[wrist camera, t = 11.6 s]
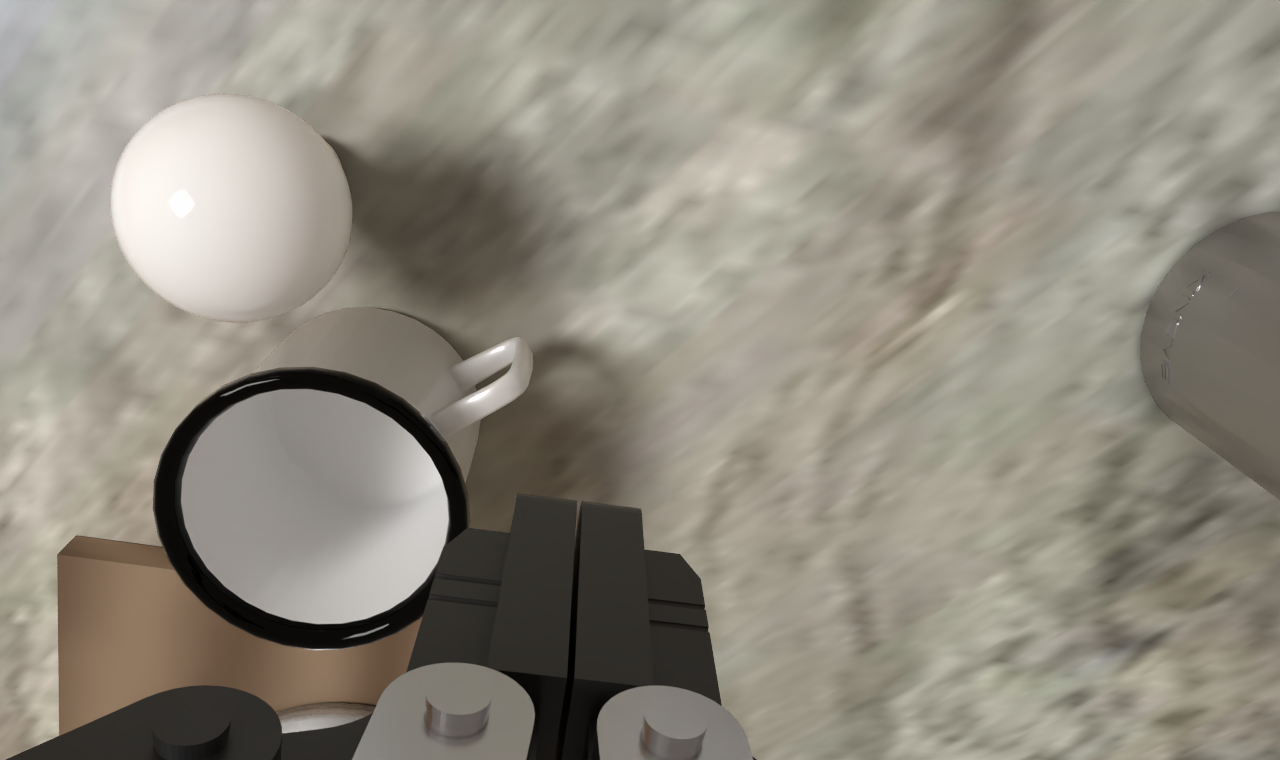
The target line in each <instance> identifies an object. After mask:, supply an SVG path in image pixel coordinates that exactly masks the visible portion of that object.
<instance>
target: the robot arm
mask: <svg viewBox="0 0 1280 760" xmlns="http://www.w3.org/2000/svg"><path fill="white" fill-rule="evenodd" d="M1140 360H1141V365H1142V369H1143V374H1144V379H1145V383H1146V385H1147V387H1148V389H1149V391H1150V393H1151V395H1152V397H1153V399H1154V401H1155V402H1156V403H1157V405H1158V406H1159V407H1160V408H1161V409H1162V410H1163V411H1164V413H1165V414H1166V415H1167V416H1168V417H1169V418H1170V419H1171V420H1173V421H1174V422H1176V423H1177V424H1178V425H1180V426H1181V427H1182V428H1184V429H1185V430H1186V431H1188V432H1189V433H1190V434H1192V435H1193V436H1194V437H1196V438H1197V439H1199V440H1200V441H1201V442H1203V443H1204V444H1205V445H1207V446H1208V447H1209V448H1211V449H1212V450H1213V451H1215V452H1216V453H1217V454H1219V455H1220V456H1221V457H1223V458H1224V459H1225V460H1227V461H1228V462H1229V463H1230V464H1231V465H1233V466H1234V467H1236V468H1237V469H1238V470H1240V471H1241V472H1242V473H1244V474H1245V475H1246V476H1248V477H1249V478H1251V479H1252V480H1253V481H1255V482H1256V483H1257V484H1259V485H1260V486H1261V487H1263V488H1264V489H1266V490H1267V491H1268V492H1270V493H1271V494H1272V495H1274V496H1275V497H1276V498H1278V499H1279V500H1280V212H1267V213H1263V214H1259V215H1255V216H1250V217H1246V218H1242V219H1240V220H1238V221H1236V222H1233V223H1231V224H1229V225H1227V226H1225V227H1222V228H1220V229H1218V230H1216V231H1215V232H1213V233H1212V234H1210V235H1209V236H1207V237H1206V238H1204V239H1203V240H1202V241H1200V242H1199V243H1197V244H1196V245H1194V246H1193V247H1192V248H1191V249H1190V250H1189V251H1188V252H1187V253H1186V254H1185V255H1184V256H1183V257H1182V258H1181V259H1180V260H1179V261H1178V262H1177V263H1176V264H1175V265H1174V266H1173V267H1172V269H1171V270H1170V272H1169V273H1168V274H1167V276H1166V277H1165V279H1164V280H1163V281H1162V283H1161V284H1160V286H1159V287H1158V289H1157V291H1156V293H1155V295H1154V297H1153V300H1152V302H1151V304H1150V306H1149V308H1148V310H1147V313H1146V317H1145V322H1144V326H1143V330H1142V334H1141V356H1140ZM576 509H577V501H574V500H566V499H559V498H551V497H543V496H535V495H527V494H519V493H518V494H517V499H516V505H515V510H514V516H513V521H512V527H511V533H504V532H496V531H488V530H480V529H472V528H467V529H466V530H464V531H463V532H462V533H461V534H459V535H458V536H457V537H456V538H454V539H453V540H452V541H451V542H449V543H448V544H447V545H446V546H445V547H443V550H442V553H441V557H440V560H439V563H438V567H437V570H436V574H435V578H434V580H433V584H432V587H431V590H430V594H429V600H427V604H426V607H425V611H424V614H423V617H422V621H421V624H420V627H419V631H418V634H417V637H416V641H415V644H414V648H413V651H412V654H411V658H410V661H409V664H408V668H407V671H406V673H405V674H403V675H401V676H400V677H398V678H397V679H395V680H394V681H393V682H391V683H390V685H389V686H388V687H387V688H386V689H385V690H384V692H383V693H382V695H381V697H380V699H379V701H378V703H377V705H376V707H375V710H374V712H373V713H371V714H369V715H368V716H366V717H364V718H361V719H358V720H356V721H353V722H350V723H347V724H343V725H339V726H335V727H329V728H323V729H316V730H307V731H299V732H290V733H282V726H281V722H280V719H279V717H278V715H277V714H276V712H275V711H274V709H273V708H272V707H271V706H270V705H269V704H267V703H266V702H265V701H263V700H262V699H260V698H259V697H257V696H255V695H253V694H250V693H248V692H246V691H242V690H239V689H235V688H230V687H223V686H210V685H200V686H187V687H181V688H175V689H171V690H167V691H163V692H160V693H157V694H154V695H151V696H149V697H146V698H144V699H141V700H139V701H137V702H135V703H132V704H130V705H128V706H126V707H123V708H121V709H119V710H117V711H114V712H112V713H110V714H108V715H105V716H103V717H101V718H99V719H96V720H94V721H92V722H90V723H87V724H85V725H83V726H81V727H78V728H76V729H74V730H72V731H69V732H67V733H65V734H63V735H60V736H58V737H56V738H53V739H51V740H49V741H47V742H44V743H42V744H40V745H38V746H35V747H33V748H31V749H29V750H26V751H24V752H22V753H20V754H17V755H15V756H13V757H11V758H8V759H6V760H756V759H755V758H754V757H753V756H752V753H751V750H750V747H749V743H748V740H747V737H746V735H745V732H744V730H743V728H742V727H741V725H740V724H739V722H738V721H737V720H736V719H735V717H734V716H733V715H732V714H731V713H730V712H728V711H727V710H726V709H725V708H723V707H722V705H721V699H720V693H719V687H718V681H717V675H716V669H715V663H714V657H713V651H712V645H711V639H710V633H709V632H708V621H707V615H706V610H704V608H705V603H704V597H703V591H702V585H701V579H700V578H699V576H698V575H697V574H696V573H695V572H694V571H693V569H692V568H691V567H690V566H689V565H688V563H687V562H686V561H685V560H684V559H683V557H682V556H681V555H680V554H675V553H667V552H659V551H651V550H644V539H643V526H642V512H641V509H639V508H631V507H623V506H615V505H607V504H599V503H591V502H584V501H582V502H581V506H580V511H579V517H578V523H577V530H576V536H575V527H576Z"/></svg>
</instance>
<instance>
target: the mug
mask: <svg viewBox="0 0 1280 760" xmlns="http://www.w3.org/2000/svg"><path fill="white" fill-rule="evenodd" d="M510 364H512V365H511V368H510V369H509V371H508V372H507V373H506V374H505V375H503V376H502V377H500V378H499V379H498V380H496V381H494V382H493V383H491V384H489V385H487V386H486V387H484V388H482V389H480V390H478V391H477V390H476V386H475V385H476V384H478V383H480V382H481V381H483V380H485V379H486V378H488V377H490V376H491V375H493V374H495V373H497V372H498V371H500V370H502V369H503V368H505V367H507V366H508V365H510ZM532 370H533V353H532V352H531V350H530V348H529V347H528V345H527V344H526V342H525V340H524V339H522V338H520V337H514V338H510V339H508V340H505V341H503V342H501V343H499V344H497V345H495V346H493V347H491V348H489V349H487V350H485V351H483V352H481V353H479V354H476V355H474V356H472V357H470V358H468V359H466V360H464V361H463V360H462V359H461V357H460V356H459V355H458V353H457V352H456V351H455V350H454V348H453V347H452V346H451V345H450V344H449V343H448V342H447V341H446V340H444V339H443V338H442V337H441V336H440V335H439V334H438V333H436V332H435V331H434V330H432V329H431V328H429V327H427V326H425V325H424V324H422V323H420V322H419V321H417V320H415V319H413V318H410V317H407V316H405V315H402V314H399V313H396V312H394V311H388V310H382V309H376V308H346V309H342V310H337V311H332V312H327V313H325V314H323V315H320V316H318V317H316V318H313V319H311V320H309V321H307V322H305V323H304V324H302V325H301V326H300V327H298V328H297V329H295V330H294V331H293V332H291V333H290V334H289V335H288V336H287V337H286V338H285V339H284V340H283V341H282V343H281V344H280V345H279V346H278V347H277V348H276V349H275V350H274V351H273V352H272V353H271V354H270V355H269V357H268V358H267V359H266V360H265V361H264V362H263V363H262V364H261V365H260V366H259V367H258V368H257V369H256V371H255V372H254V373H252V374H249V375H246V376H244V377H242V378H239V379H237V380H235V381H232V382H230V383H228V384H225V385H223V386H221V387H220V388H219V389H217V390H216V391H214V392H213V393H212V394H210V395H209V396H207V397H206V398H204V399H203V400H202V401H200V402H199V403H198V404H197V405H196V406H195V407H194V408H193V409H192V410H191V412H190V413H189V414H188V415H187V416H186V417H185V418H184V419H183V420H182V422H181V423H180V424H179V425H178V427H177V428H176V429H175V431H174V433H173V434H172V436H171V438H170V440H169V442H168V444H167V445H166V447H165V449H164V451H163V453H162V454H161V458H160V461H159V465H158V469H157V472H156V476H155V479H154V495H153V511H154V517H155V522H156V527H157V533H158V537H159V539H160V542H161V544H162V546H163V549H164V551H165V554H166V556H167V559H168V561H169V563H170V564H171V566H172V567H173V569H174V570H175V572H176V573H177V575H178V576H179V578H180V579H181V581H182V582H183V584H184V585H185V586H186V587H187V588H188V589H189V590H190V591H191V593H192V594H193V595H194V596H195V597H196V598H197V599H198V600H199V601H200V602H201V603H202V604H203V605H204V606H205V607H206V608H208V609H209V610H211V611H212V612H213V613H215V614H216V615H217V616H219V617H220V618H222V619H223V620H224V621H226V622H227V623H229V624H230V625H232V626H234V627H236V628H238V629H240V630H242V631H244V632H246V633H248V634H250V635H252V636H254V637H257V638H260V639H263V640H266V641H270V642H273V643H276V644H279V645H283V646H288V647H295V648H302V649H309V650H337V649H347V648H352V647H357V646H362V645H367V644H372V643H374V642H377V641H379V640H382V639H384V638H387V637H389V636H392V635H395V634H397V633H399V632H400V631H402V630H403V629H405V628H406V627H408V626H410V625H411V624H413V623H414V622H416V621H418V620H419V619H420V618H421V617H423V614H424V611H425V607H426V604H427V600H429V594H430V590H431V587H432V584H433V580H434V578H435V574H436V570H437V567H438V563H439V560H440V557H441V553H442V550H443V547H445V546H446V545H447V544H448V543H449V542H451V541H452V540H453V539H454V538H456V537H457V536H458V535H459V534H461V533H462V532H463V531H464V530H466V529H467V528H469V526H470V511H469V497H468V492H467V488H466V485H465V484H466V480H467V477H468V473H469V470H470V466H471V463H472V459H473V456H474V452H475V449H476V445H477V442H478V436H479V430H480V423H481V419H483V418H484V417H486V416H488V415H490V414H491V413H493V412H495V411H497V410H498V409H500V408H502V407H504V406H505V405H507V404H509V403H511V402H512V401H514V400H515V399H516V398H518V397H519V396H520V395H522V394H523V393H524V391H525V390H526V389H527V388H528V385H529V381H530V377H531V374H532Z"/></svg>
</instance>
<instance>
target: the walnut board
mask: <svg viewBox="0 0 1280 760" xmlns="http://www.w3.org/2000/svg"><path fill="white" fill-rule="evenodd" d="M57 561H58V655H59V736H60V735H63V734H65V733H67V732H69V731H72V730H74V729H76V728H78V727H81V726H83V725H85V724H87V723H90V722H92V721H94V720H96V719H99V718H101V717H103V716H105V715H108V714H110V713H112V712H114V711H117V710H119V709H121V708H123V707H126V706H128V705H130V704H132V703H135V702H137V701H139V700H141V699H144V698H146V697H149V696H151V695H154V694H157V693H160V692H163V691H167V690H171V689H175V688H181V687H187V686H200V685H210V686H223V687H230V688H235V689H239V690H242V691H246V692H248V693H250V694H253V695H255V696H257V697H259V698H260V699H262V700H263V701H265V702H266V703H267V704H269V705H270V706H271V707H272V708H273V709H274V711H275V712H277V711H281V710H285V709H288V708H292V707H296V706H304V705H311V704H318V703H349V704H361V705H368V706H373V707H376V705H377V703H378V701H379V699H380V697H381V695H382V693H383V692H384V690H385V689H386V688H387V687H388V686H389V685H390V683H391V682H393V681H394V680H395V679H397V678H398V677H400V676H401V675H403V674H405V673H406V671H407V668H408V664H409V661H410V658H411V654H412V651H413V648H414V644H415V641H416V637H417V634H418V631H419V627H420V624H421V621H422V617H421V618H420V619H419V620H418V621H416V622H414V623H413V624H411V625H410V626H408V627H406V628H405V629H403V630H402V631H400V632H399V633H397V634H395V635H392V636H389V637H387V638H384V639H382V640H379V641H377V642H374V643H372V644H367V645H362V646H357V647H352V648H347V649H337V650H309V649H302V648H295V647H288V646H283V645H279V644H276V643H273V642H270V641H266V640H263V639H260V638H257V637H254V636H252V635H250V634H248V633H246V632H244V631H242V630H240V629H238V628H236V627H234V626H232V625H230V624H229V623H227V622H226V621H224V620H223V619H222V618H220V617H219V616H217V615H216V614H215V613H213V612H212V611H211V610H209V609H208V608H206V607H205V606H204V605H203V604H202V603H201V602H200V601H199V600H198V599H197V598H196V597H195V596H194V595H193V594H192V593H191V591H190V590H189V589H188V588H187V587H186V586H185V585H184V584H183V582H182V581H181V579H180V578H179V576H178V575H177V573H176V572H175V570H174V569H173V567H172V566H171V564H170V563H169V561H168V559H167V556H166V554H165V551H164V549H163V547H157V546H149V545H142V544H134V543H127V542H119V541H112V540H104V539H97V538H89V537H82V536H75V537H74V538H73V539H72V540H71V541H70V542H69V543H68V544H67V545H66V546H65V547H64V548H63V549H62V550H61V551H60V552H59V553H58V554H57Z"/></svg>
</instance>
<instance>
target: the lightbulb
mask: <svg viewBox="0 0 1280 760" xmlns="http://www.w3.org/2000/svg"><path fill="white" fill-rule="evenodd" d="M110 212H111V220H112V225H113V229H114V233H115V236H116V239H117V242H118V244H119V247H120V249H121V251H122V253H123V255H124V257H125V258H126V260H127V262H128V263H129V265H130V266H131V268H132V269H133V271H134V272H135V273H136V274H137V276H138V277H139V278H140V279H141V280H142V281H143V282H144V283H145V284H146V285H147V286H148V287H149V288H150V289H151V290H152V291H153V292H154V293H156V294H157V295H158V296H160V297H161V298H162V299H164V300H165V301H167V302H168V303H170V304H172V305H173V306H175V307H177V308H179V309H181V310H183V311H185V312H188V313H190V314H193V315H196V316H199V317H202V318H205V319H210V320H215V321H220V322H230V323H248V322H257V321H263V320H268V319H271V318H275V317H278V316H281V315H283V314H286V313H288V312H290V311H293V310H294V309H296V308H298V307H300V306H302V305H303V304H305V303H306V302H308V301H309V300H310V299H312V298H313V297H314V296H315V295H316V294H318V293H319V292H320V291H321V290H322V289H323V288H324V287H325V286H326V284H327V283H328V282H329V281H330V280H331V278H332V277H333V276H334V274H335V273H336V271H337V269H338V268H339V266H340V264H341V262H342V260H343V258H344V256H345V253H346V251H347V248H348V245H349V241H350V236H351V231H352V222H353V208H352V199H351V193H350V189H349V185H348V182H347V178H346V176H345V173H344V171H343V168H342V165H341V162H340V159H339V157H338V155H337V154H336V152H335V151H334V149H333V148H332V147H331V146H330V145H329V144H328V143H327V142H326V141H325V140H324V139H323V138H322V137H321V136H320V135H319V134H318V132H317V131H315V130H314V129H313V128H312V127H311V126H310V125H309V124H308V123H306V122H305V121H304V120H302V119H301V118H300V117H298V116H297V115H295V114H294V113H292V112H290V111H288V110H287V109H285V108H283V107H281V106H279V105H276V104H274V103H271V102H269V101H266V100H263V99H259V98H255V97H251V96H246V95H238V94H210V95H203V96H198V97H193V98H190V99H186V100H183V101H181V102H178V103H176V104H173V105H171V106H169V107H167V108H166V109H164V110H162V111H160V112H159V113H157V114H156V115H155V116H153V117H152V118H151V119H149V120H148V121H147V122H146V123H145V124H144V125H143V126H142V127H141V128H140V129H139V130H138V131H137V132H136V133H135V134H134V135H133V137H132V138H131V139H130V141H129V142H128V144H127V145H126V147H125V149H124V150H123V152H122V154H121V156H120V158H119V160H118V163H117V165H116V168H115V171H114V175H113V179H112V185H111V192H110Z"/></svg>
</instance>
